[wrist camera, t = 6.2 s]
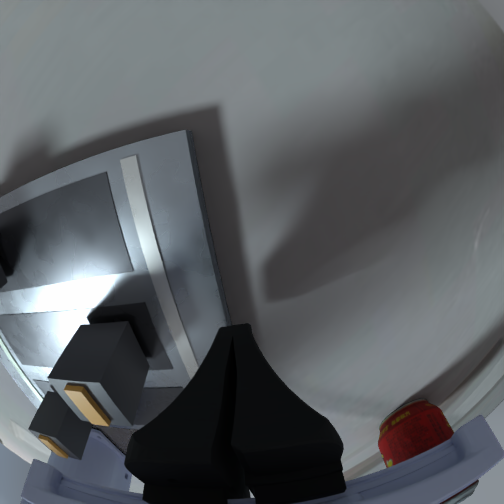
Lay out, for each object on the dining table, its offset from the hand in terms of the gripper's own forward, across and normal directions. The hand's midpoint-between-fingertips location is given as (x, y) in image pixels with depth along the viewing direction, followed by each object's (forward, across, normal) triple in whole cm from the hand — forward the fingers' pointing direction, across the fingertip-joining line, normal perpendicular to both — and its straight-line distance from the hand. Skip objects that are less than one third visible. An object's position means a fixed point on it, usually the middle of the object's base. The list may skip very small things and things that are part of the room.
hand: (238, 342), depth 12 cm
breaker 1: (0, +14, +6) cm, 15 cm away
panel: (+2, +10, 0) cm, 11 cm away
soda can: (+3, -14, +17) cm, 22 cm away
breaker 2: (0, +6, 0) cm, 7 cm away
